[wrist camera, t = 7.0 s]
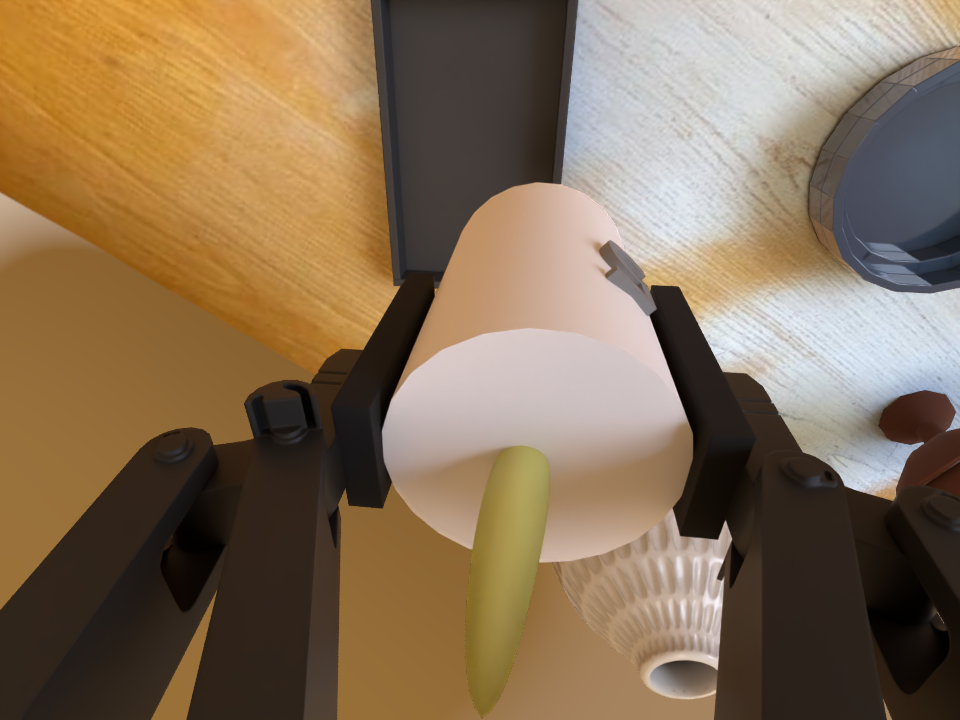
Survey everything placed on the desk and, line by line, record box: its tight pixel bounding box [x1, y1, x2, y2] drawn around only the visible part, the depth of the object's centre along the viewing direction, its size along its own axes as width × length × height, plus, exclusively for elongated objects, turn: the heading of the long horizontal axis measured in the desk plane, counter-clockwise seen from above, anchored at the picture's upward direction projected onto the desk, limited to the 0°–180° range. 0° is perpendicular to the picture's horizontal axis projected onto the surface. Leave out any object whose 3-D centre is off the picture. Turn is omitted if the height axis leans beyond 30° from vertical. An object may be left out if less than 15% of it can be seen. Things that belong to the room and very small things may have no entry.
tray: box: [371, 0, 578, 288], centre depth 36 cm, size 19×12×2 cm, turn 179°
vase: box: [552, 507, 732, 699], centre depth 39 cm, size 16×16×22 cm
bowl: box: [809, 46, 960, 293], centre depth 33 cm, size 14×14×4 cm
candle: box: [382, 182, 693, 718], centre depth 13 cm, size 6×6×15 cm
